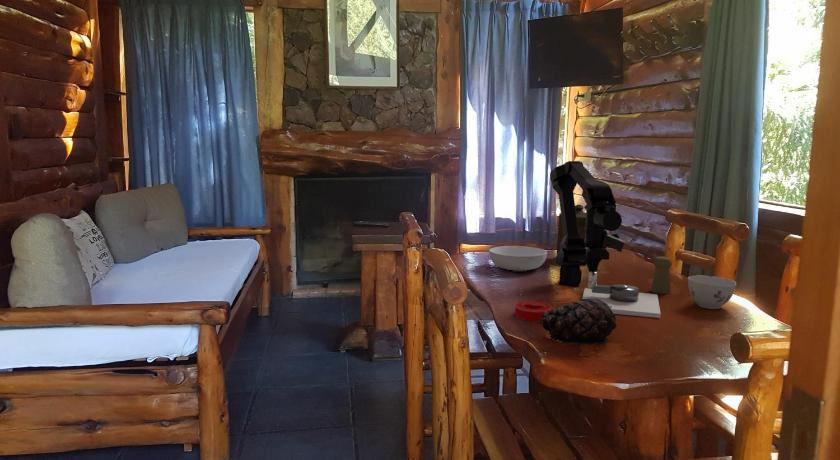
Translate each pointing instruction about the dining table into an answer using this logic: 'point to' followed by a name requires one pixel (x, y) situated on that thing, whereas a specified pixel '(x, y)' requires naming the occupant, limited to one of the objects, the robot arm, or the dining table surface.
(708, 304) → the teacup
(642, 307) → the stand board
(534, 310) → the decorative ornament
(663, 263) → the cork
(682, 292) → the dining table surface
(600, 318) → the pine cone
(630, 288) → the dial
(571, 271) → the robot arm
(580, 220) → the wooden container
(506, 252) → the serving bowl
